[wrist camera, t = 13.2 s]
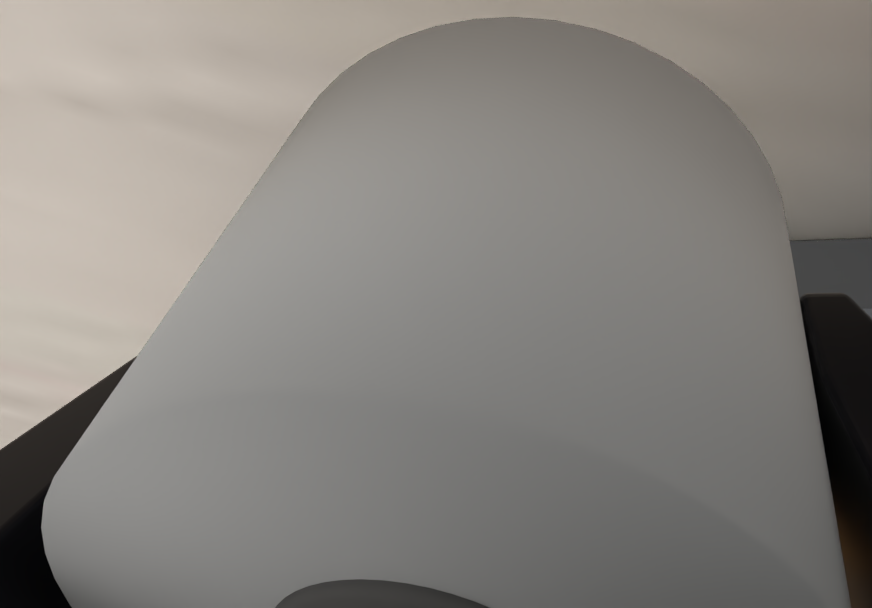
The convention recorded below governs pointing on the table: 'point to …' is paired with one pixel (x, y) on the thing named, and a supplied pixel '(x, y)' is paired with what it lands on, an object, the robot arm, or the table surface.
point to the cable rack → (835, 268)
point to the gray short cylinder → (475, 359)
